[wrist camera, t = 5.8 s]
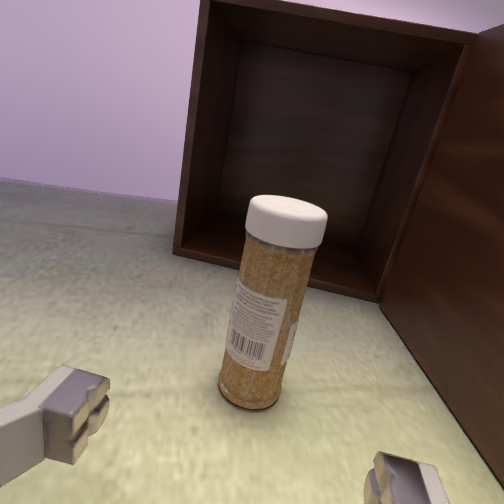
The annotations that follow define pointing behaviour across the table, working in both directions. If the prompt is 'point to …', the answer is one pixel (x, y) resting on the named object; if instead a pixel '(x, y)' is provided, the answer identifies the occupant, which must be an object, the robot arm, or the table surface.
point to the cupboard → (314, 130)
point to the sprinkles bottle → (269, 297)
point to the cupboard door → (461, 257)
